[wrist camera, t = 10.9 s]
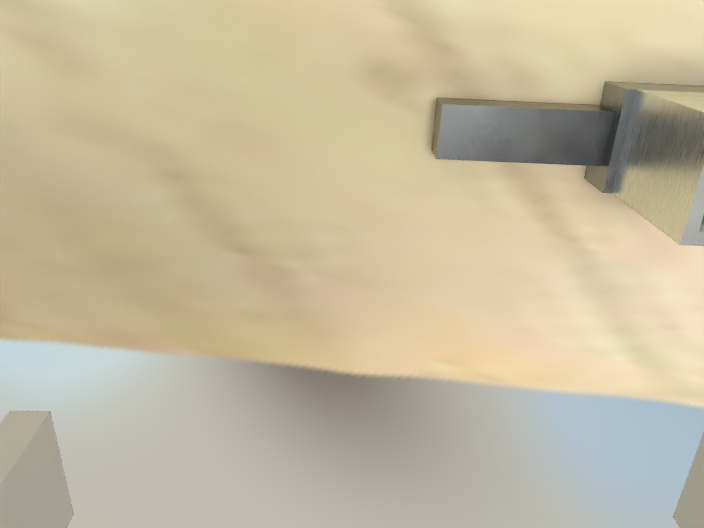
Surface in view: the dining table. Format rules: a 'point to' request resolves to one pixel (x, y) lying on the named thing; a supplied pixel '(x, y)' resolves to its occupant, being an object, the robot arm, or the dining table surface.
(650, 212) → the socket
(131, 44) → the dining table surface
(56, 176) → the dining table surface
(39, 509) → the robot arm
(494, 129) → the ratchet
